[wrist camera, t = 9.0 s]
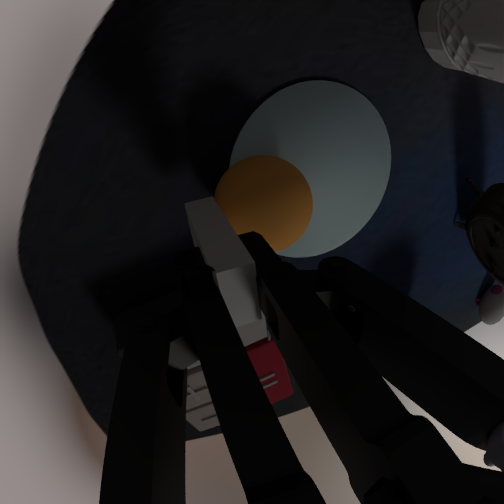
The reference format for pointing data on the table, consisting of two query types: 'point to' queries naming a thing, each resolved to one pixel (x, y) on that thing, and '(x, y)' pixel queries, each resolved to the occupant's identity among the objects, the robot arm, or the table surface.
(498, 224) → the alarm clock
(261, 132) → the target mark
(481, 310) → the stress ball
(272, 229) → the ball
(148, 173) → the table surface
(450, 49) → the white cup
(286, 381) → the calculator
